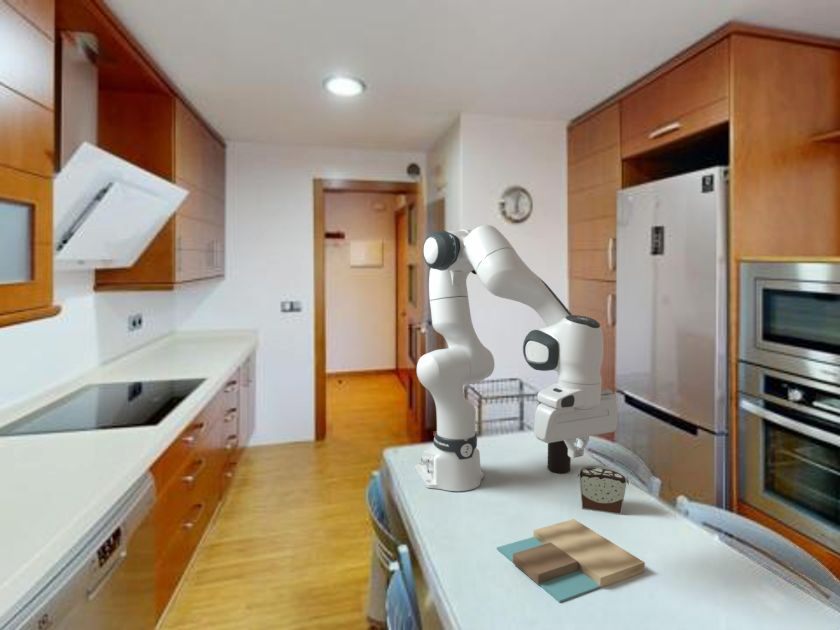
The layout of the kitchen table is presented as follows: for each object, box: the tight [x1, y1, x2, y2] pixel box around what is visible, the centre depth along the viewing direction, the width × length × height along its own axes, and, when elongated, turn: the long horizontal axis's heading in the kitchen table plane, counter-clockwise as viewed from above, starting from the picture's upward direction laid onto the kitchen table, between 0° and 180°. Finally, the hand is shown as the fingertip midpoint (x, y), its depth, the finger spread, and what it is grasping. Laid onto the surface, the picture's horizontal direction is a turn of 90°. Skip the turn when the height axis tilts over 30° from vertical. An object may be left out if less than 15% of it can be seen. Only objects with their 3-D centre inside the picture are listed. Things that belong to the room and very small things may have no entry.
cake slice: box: [576, 464, 630, 516], centre depth 131 cm, size 12×6×10 cm, turn 71°
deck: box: [532, 518, 646, 589], centre depth 109 cm, size 20×12×2 cm, turn 26°
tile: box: [512, 542, 578, 585], centre depth 103 cm, size 8×10×2 cm
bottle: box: [547, 440, 572, 474], centre depth 155 cm, size 7×7×20 cm
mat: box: [496, 536, 601, 603], centre depth 104 cm, size 20×10×1 cm, turn 26°
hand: (575, 456), depth 109 cm, fingers closed
